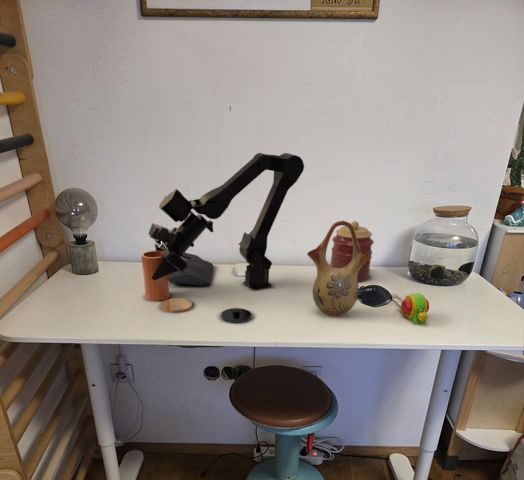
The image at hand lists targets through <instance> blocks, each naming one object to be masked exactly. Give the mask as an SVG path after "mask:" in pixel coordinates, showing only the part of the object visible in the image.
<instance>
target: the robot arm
mask: <svg viewBox="0 0 524 480" xmlns="http://www.w3.org/2000/svg"><path fill="white" fill-rule="evenodd" d="M304 170H305V164H304V160H303V159H302V158H301V157H300V156H298V155H295V154H292V153H289V152H283V153H282V154H280V155H277V154H266V153H262V152H258V153H256V154H255V155H254V156H253V158H251V159H250V160H249V161H248V162H247V163H246V164H245V165H244V166H242V167H241V168H240V169H238V170H237V172H235V173H234V174H233V175H232V176H231V177H230V178H228V179H227V180H226V181H225V182H224V183H223V184H221V185H219V186H218V187H216V188H212V189H211V190H209V191H208V192H206V193H204V194H202V195H201V196H200V198H196V199H190V200H188V199H187V198H186V197H185V196H184V195H183V194H182V192H181V191H180V190H179V189H177V188H174V190H173V191H171V192H169V193H168V194H167V195H165V196H164V197H163V199H162V200H161V201H160V203H159V206H158V208H159V209H160V210H161V212H164V214H165V215H167V216H168V217H169V218H170V219H171V220H172V221H173V222H175V223H178V222H179V223H180V225H178V227H176V226H175V227H172V229H169V228H168V227H165V226H163V225H160V224H156V223H153V222H152V223H151V226H150V228H149V231H148V235H149V237H150V239H152V240H154V242H155V243H154V248H155V251H163V252H165V253H164V256H163V255H162V254H161V263H160V265H159V267H158V268H157V270H156V271H155V273H154V274H153V276H152V279H153V280H157V279H159V278H162V277H164V276H166V275H169V274H171V273H174V272H177V271H178V272H179V271H182V272H184V271H185V269H186V268H187V262H186V260H185V259H184V258H183V257H184V256H185V255H184V253H187V250H188V249H190V247H191V248H193V247H195V241H196V240H197V239H198V238H199V237H200V236H201V235H202V234H203V232H204V231H205V230H206V229H207V230H208V231H209V232H210V233H214V222H213V220H218V219H219V218H220V217H221V216H222V215H224V213H225V211H227V209H228V208H229V207H230V204H231V202H232V200H233V199H234V198H235V197H236V196H238V195H239V194H240V193H241V192H242V191H244V189H245V188H247V187H248V186H249V185H250V184H251V183H252V182H254V180H255V179H257V178H258V177H260V176H261V174H262V173H264V172H265V171H272V172H273V182H272V185H271V187H270V188H269V189H270V190H269V191H268V194H267V196H266V199H265V201H264V203H263V205H262V208H261V210H260V212H259V215H258V218H257V220H256V222H255V224H254V226H253V229H252V230H251V231H250V232H249V233H247V232H243V234H242V237H241V240H240V242H239V243H238V246H239V253H240V256H241V257H242V258H243V259H244V261H245V263H247V264H248V265H246V270H245V271H244V281H243V284H244V285H246V286H247V287H249V288H251V289H252V290H259V289H263V288H270V287H272V284H271V283H270V269H271V267H272V265H273V262H272V261H271V260H270V259H269V258H268V257H267V256H266V253H267V249H268V237H269V235H270V232H271V229H272V227H273V225H274V223H275V221H276V219H277V216H278V214H279V211H280V210H281V208H282V205H283V202H284V200H285V198H286V196H287V194H288V191H289V190H290V189H291V188H292V187H293V186H294V185H295V184H296V183H297V182H298V180H299V178H300V177H301V175H302V174H303V172H304ZM192 210H194V211H195V213H197V214H195V213H194V212H193V211H192ZM203 215H204V216H203ZM206 218H207V219H210V220H207V219H206Z"/></svg>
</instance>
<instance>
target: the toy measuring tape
mask: <svg viewBox="0 0 524 480" xmlns="http://www.w3.org/2000/svg"><path fill="white" fill-rule="evenodd" d="M390 294H391V295H392V299H391V300H392V301H394V302H395V303H396V304H397V306H400V307H399V311H400V312H401V313H402V314H403V315H404V316H405V317H406V318H408V319H410V320H411V321H412V322H413V323H414V324H424V323H425V322H426V320H428V317H429V315H428V312H429V310H430V302H429V300H428V299H427V297H425V295H424V294H422V293H420V292H415V293H410V294H406V295H405V297H404V299H403V300H401V299H399V294H398V293H390Z"/></svg>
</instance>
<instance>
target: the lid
mask: <svg viewBox="0 0 524 480" xmlns="http://www.w3.org/2000/svg"><path fill="white" fill-rule="evenodd" d="M220 318H221V319H222V320H223V321H224V322H227V323H230V324H231V323H232V324H241V323H246V322H248V321H250V320H251V319H252V313H251V311H250V310H248V309H246V308H242V307H241V308H240V307H231V308H228V309H227V308H226V309H225V310H223V311H222V312H221V314H220Z"/></svg>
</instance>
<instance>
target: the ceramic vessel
mask: <svg viewBox="0 0 524 480" xmlns="http://www.w3.org/2000/svg"><path fill="white" fill-rule="evenodd" d="M342 226H347V227H348V228H349V230H350V233H351V237H352V242H353V257H352V260H351V262H350V263H349V264H348V265H347V266H345V267H343V268H334V267H332V266H330V263H329V262H328V261H327V250H328V245H329V242H330V240H331V239H332V235H333V234H334V231H336V228H337V227H342ZM306 255H307V256H308V257H309V258H310V260H312V262H313V263H314V265H315V267H316V272H317V273H316V277H315V279H314V281H313V285H312V300H313V302H314V304H315V306H316V307H317V309H318V310H319V311H320V312H321V313H323V314H324V315H326V316H333V317H339V316H340V317H341V316H342V315H343V316H344V315H345V314H346V313H348V312H349V311H351V309H352V308H353V307H354V306H355V305H356V303H357V300H358V298H359V293H360V286H359V281H357V275H358V272H359V270H360V268H361V267H362V266H363V265H364V264H365V263H366V262H367V261H368V260H370V259H372V255H371V256H370V255H369V254H368V253H366V252H364V251H363V250H362V249H361V247H360V245H359V243H358V241H357V238H356V234H355V231H354V228H353V226H352V225H351V223H350V222H349V221H345V220H339V221H335V222H334V223H333V224H332V225H331V226H330V228H329V230H328V231H327V233H326V235H325V236H324V238H323V240H322V241H321V243H320V244H319V245H318V246H316V247H315V248H314V249H311V250H309V251H308V252H307V253H306Z"/></svg>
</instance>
